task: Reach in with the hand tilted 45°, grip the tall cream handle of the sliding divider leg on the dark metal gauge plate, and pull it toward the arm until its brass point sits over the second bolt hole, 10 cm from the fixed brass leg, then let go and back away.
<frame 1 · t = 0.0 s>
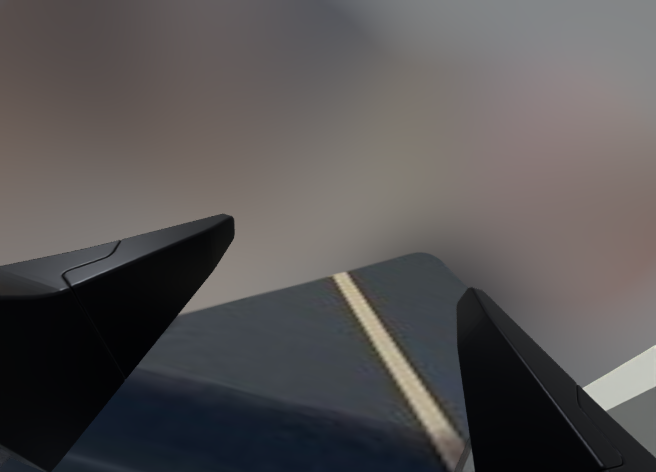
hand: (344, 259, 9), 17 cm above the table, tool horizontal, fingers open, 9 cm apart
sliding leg: (641, 449, 14), point 8 cm above the table, slide at 7.5 cm
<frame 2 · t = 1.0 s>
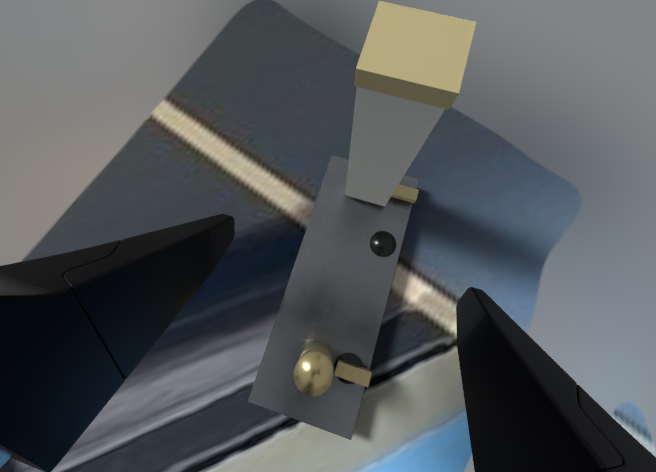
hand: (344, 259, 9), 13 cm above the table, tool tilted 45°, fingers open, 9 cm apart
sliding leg: (400, 148, 15), point 8 cm above the table, slide at 7.5 cm
gauge plate: (339, 281, 22), on the table
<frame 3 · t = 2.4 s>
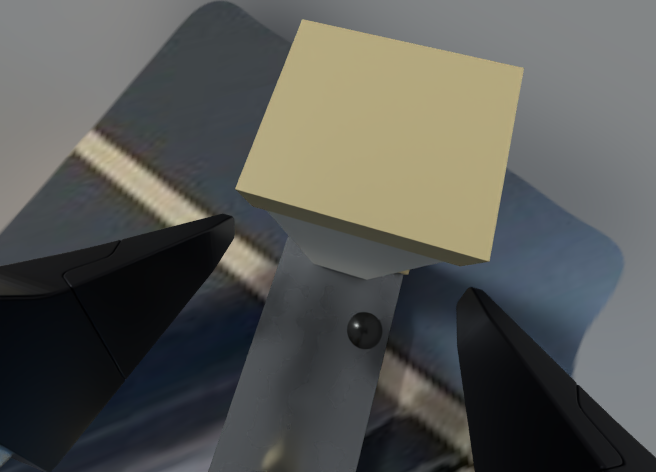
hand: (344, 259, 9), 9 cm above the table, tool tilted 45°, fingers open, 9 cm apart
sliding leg: (379, 233, 10), point 8 cm above the table, slide at 7.5 cm
gauge plate: (309, 375, 17), on the table
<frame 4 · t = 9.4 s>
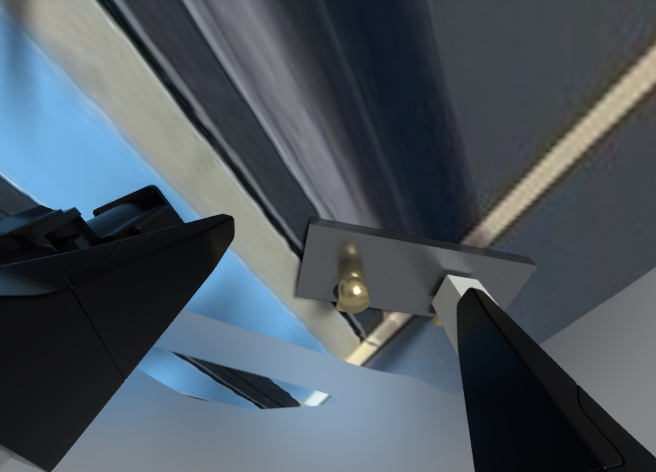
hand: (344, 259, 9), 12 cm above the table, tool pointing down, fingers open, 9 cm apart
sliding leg: (483, 359, 19), point 8 cm above the table, slide at 3.0 cm
gauge plate: (408, 271, 25), on the table
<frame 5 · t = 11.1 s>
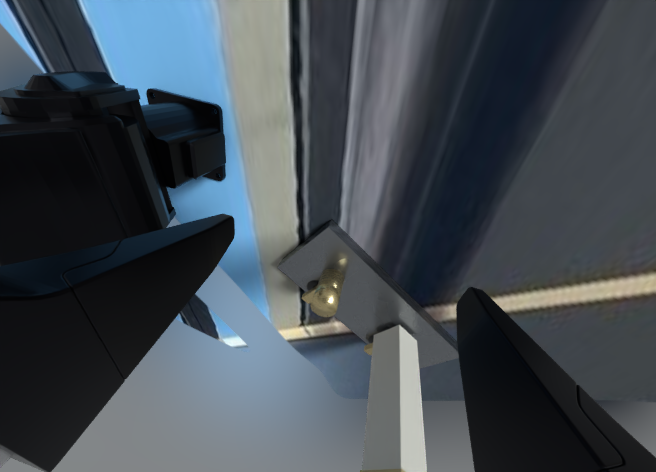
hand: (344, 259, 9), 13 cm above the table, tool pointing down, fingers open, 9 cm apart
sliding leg: (385, 399, 23), point 8 cm above the table, slide at 3.0 cm
gauge plate: (372, 302, 28), on the table
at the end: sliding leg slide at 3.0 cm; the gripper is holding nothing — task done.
